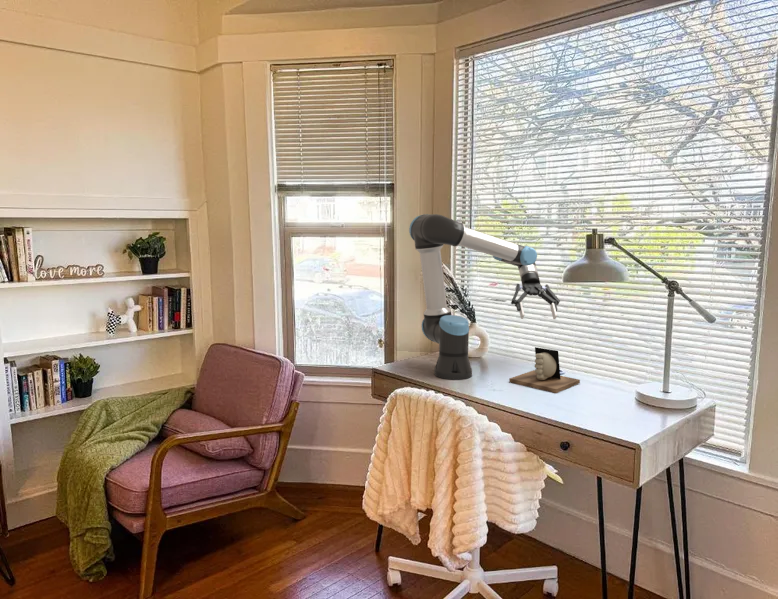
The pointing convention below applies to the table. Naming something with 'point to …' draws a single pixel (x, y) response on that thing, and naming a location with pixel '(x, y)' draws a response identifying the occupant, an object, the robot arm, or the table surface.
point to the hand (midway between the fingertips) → (539, 317)
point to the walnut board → (544, 382)
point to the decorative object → (547, 363)
